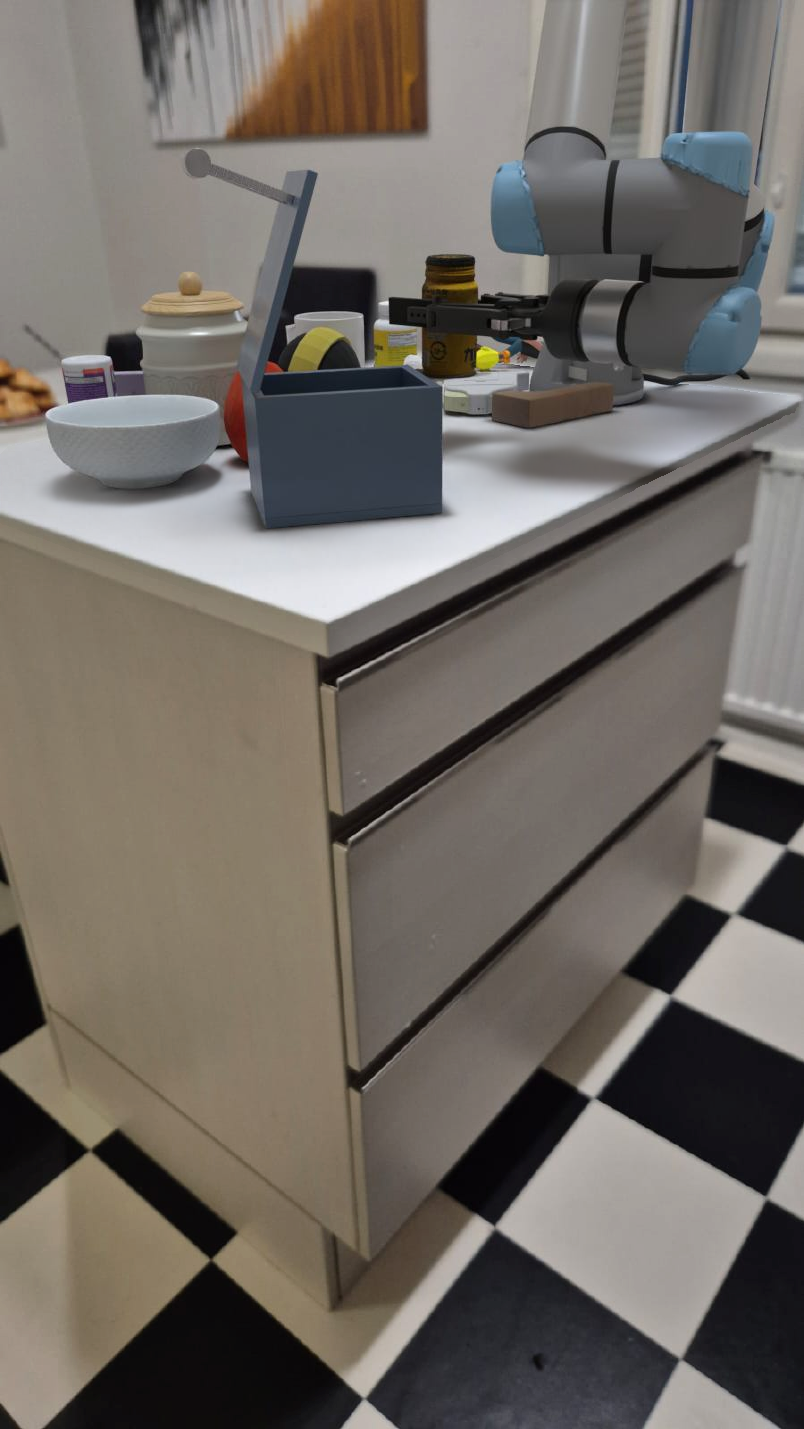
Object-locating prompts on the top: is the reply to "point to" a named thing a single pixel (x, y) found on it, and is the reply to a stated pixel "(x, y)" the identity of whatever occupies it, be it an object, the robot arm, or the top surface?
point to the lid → (276, 259)
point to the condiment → (445, 350)
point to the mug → (336, 320)
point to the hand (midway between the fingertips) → (410, 307)
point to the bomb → (318, 352)
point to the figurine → (519, 348)
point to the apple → (239, 413)
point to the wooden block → (552, 404)
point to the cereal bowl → (135, 437)
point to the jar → (192, 343)
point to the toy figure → (490, 358)
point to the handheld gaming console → (481, 390)
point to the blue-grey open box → (344, 445)
